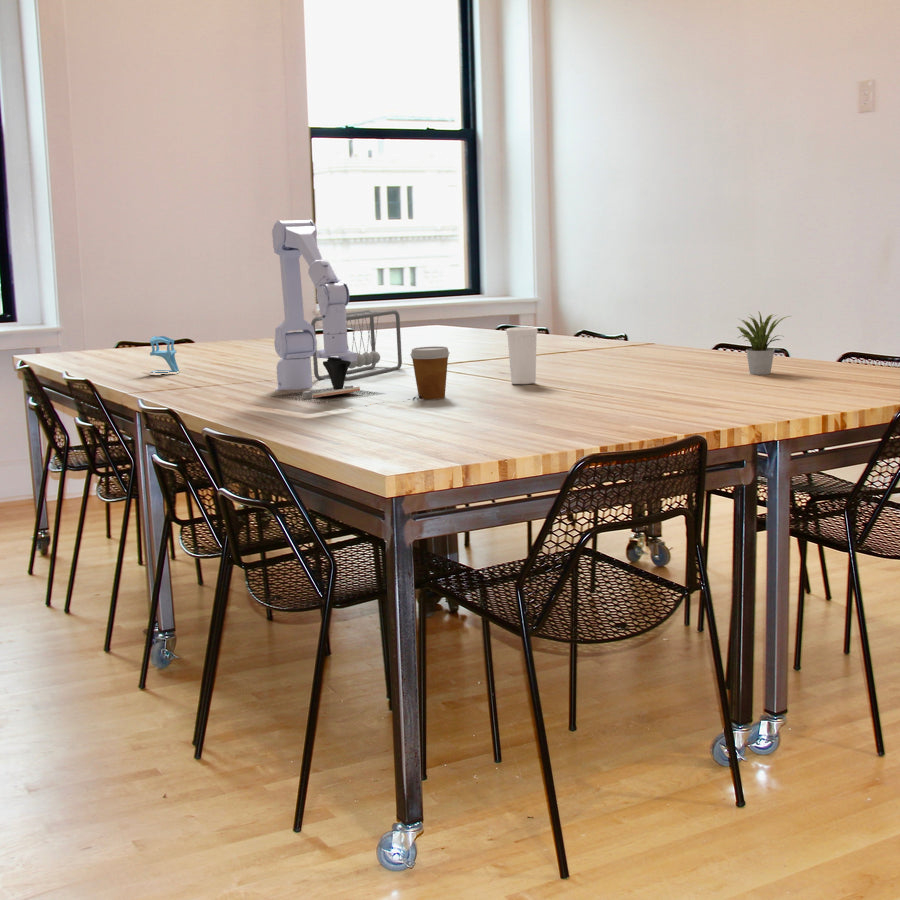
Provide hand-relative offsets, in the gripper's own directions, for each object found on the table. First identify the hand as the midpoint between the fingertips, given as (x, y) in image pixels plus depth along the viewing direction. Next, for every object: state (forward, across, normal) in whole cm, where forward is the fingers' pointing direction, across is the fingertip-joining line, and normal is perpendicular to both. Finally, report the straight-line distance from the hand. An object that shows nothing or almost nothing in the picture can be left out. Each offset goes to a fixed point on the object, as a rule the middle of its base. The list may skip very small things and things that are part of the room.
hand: (338, 389), depth 269 cm
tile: (+2, -4, 0) cm, 4 cm away
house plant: (+3, +57, +94) cm, 110 cm away
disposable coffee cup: (+3, +16, +16) cm, 23 cm away
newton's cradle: (+3, -40, +35) cm, 53 cm away
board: (+3, -5, 0) cm, 6 cm away
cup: (+3, +17, +46) cm, 49 cm away
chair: (+3, -98, +3) cm, 98 cm away
